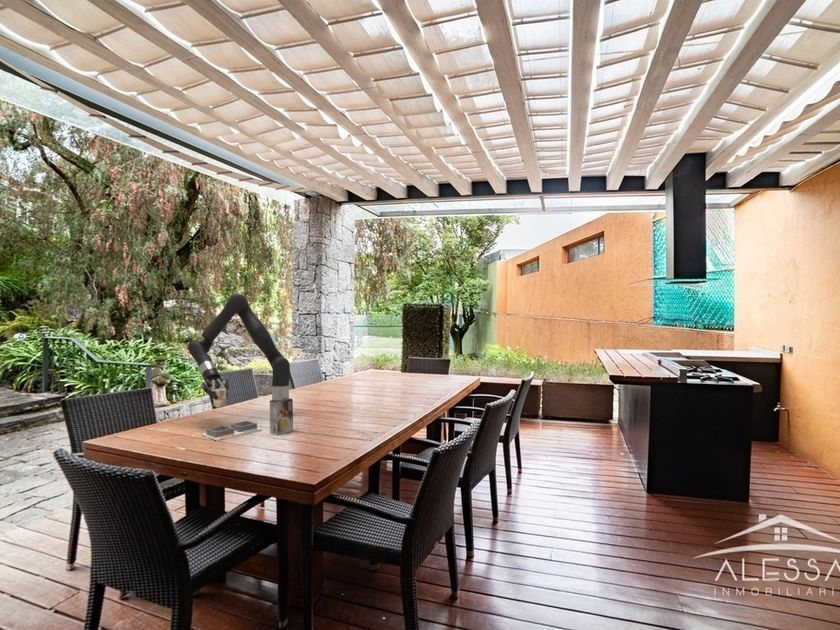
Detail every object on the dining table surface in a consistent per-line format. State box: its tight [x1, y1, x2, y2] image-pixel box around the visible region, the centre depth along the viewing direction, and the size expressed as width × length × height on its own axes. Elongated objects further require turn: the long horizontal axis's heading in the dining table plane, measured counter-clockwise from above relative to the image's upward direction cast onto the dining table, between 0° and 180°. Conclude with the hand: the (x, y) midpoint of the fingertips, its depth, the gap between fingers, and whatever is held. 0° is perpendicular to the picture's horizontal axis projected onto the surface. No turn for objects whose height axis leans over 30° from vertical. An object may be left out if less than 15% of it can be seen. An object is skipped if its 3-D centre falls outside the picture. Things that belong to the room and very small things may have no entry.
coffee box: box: [269, 397, 294, 436], centre depth 220 cm, size 9×6×16 cm
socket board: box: [201, 420, 262, 441], centre depth 218 cm, size 23×14×4 cm, turn 142°
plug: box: [212, 388, 227, 408], centre depth 226 cm, size 4×4×8 cm
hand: (221, 397), depth 224 cm, fingers closed on plug, 4 cm apart
